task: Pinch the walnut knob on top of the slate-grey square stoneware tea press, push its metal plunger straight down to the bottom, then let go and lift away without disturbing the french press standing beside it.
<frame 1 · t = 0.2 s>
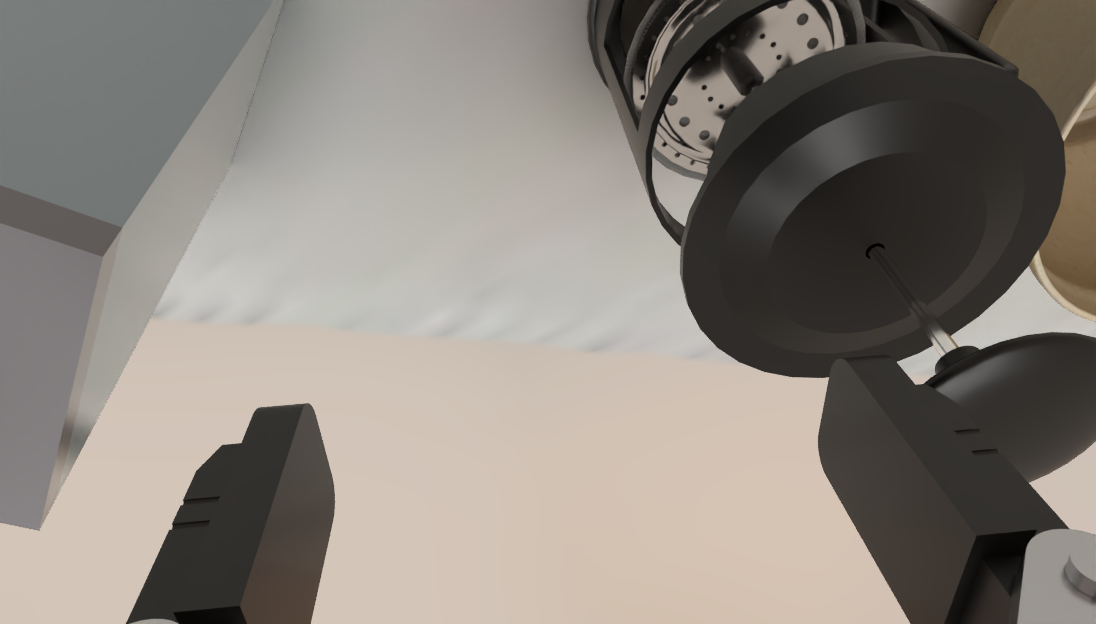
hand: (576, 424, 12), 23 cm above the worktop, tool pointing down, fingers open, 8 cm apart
french press: (710, 11, 31), on the worktop
planter bowl: (1076, 29, 33), on the worktop
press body: (140, 24, 29), on the worktop
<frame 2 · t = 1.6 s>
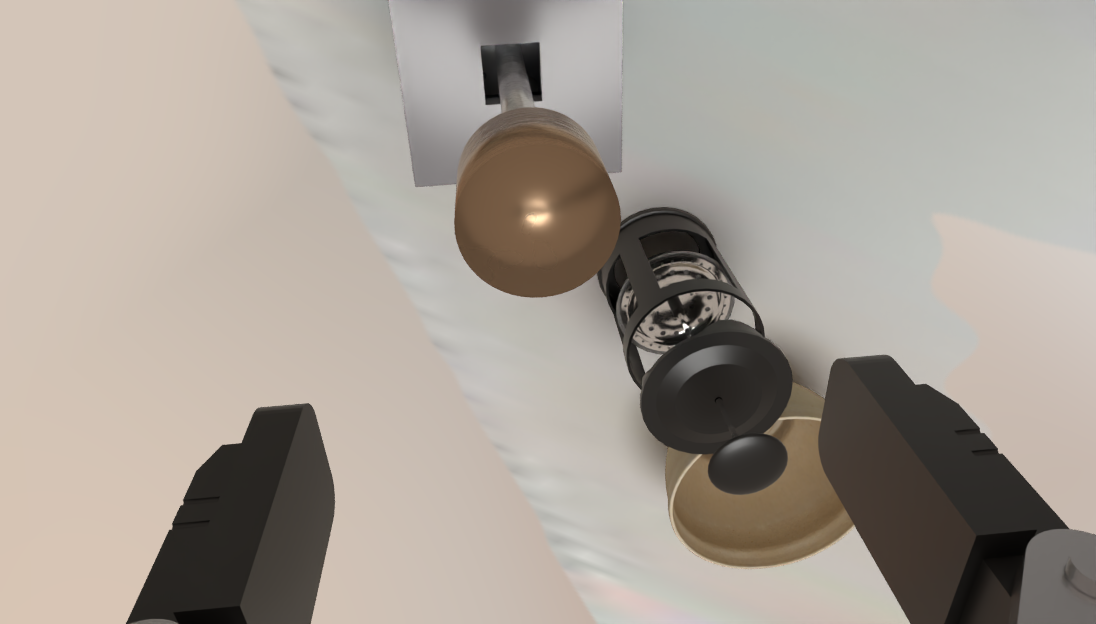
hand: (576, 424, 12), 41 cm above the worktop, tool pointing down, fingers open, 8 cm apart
french press: (660, 266, 58), on the worktop
plunger: (515, 92, 28), point 22 cm above the worktop, slide at 8.0 cm
planter bowl: (731, 408, 66), on the worktop
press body: (499, 1, 47), on the worktop
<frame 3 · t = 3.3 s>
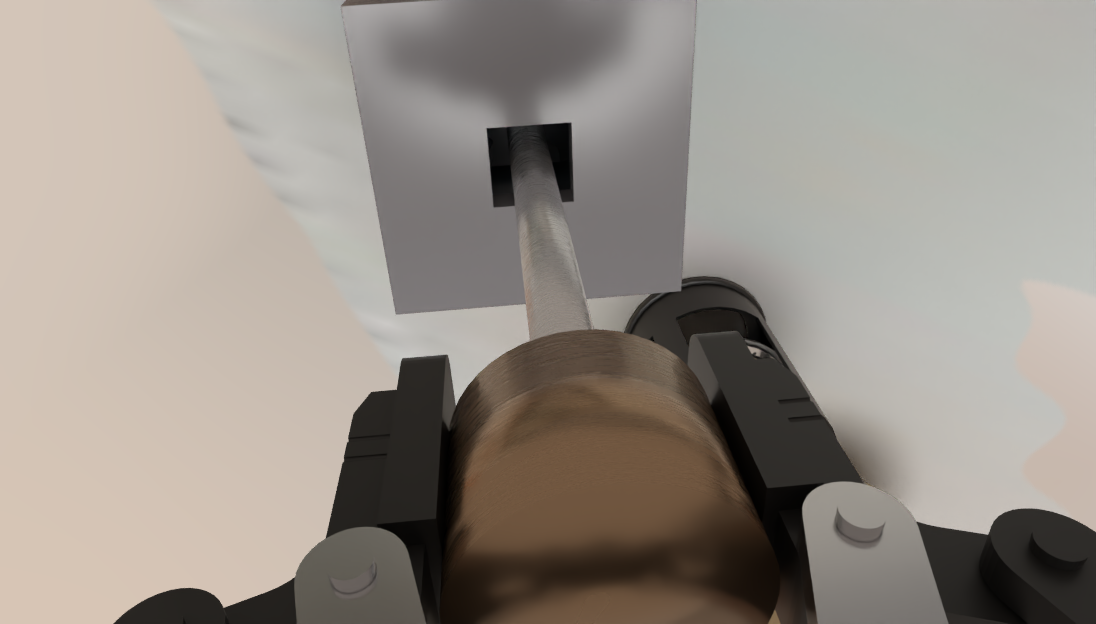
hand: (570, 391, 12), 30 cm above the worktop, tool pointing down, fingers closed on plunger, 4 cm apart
french press: (697, 342, 49), on the worktop
plunger: (538, 204, 19), point 22 cm above the worktop, slide at 8.0 cm, touching gripper
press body: (507, 35, 38), on the worktop
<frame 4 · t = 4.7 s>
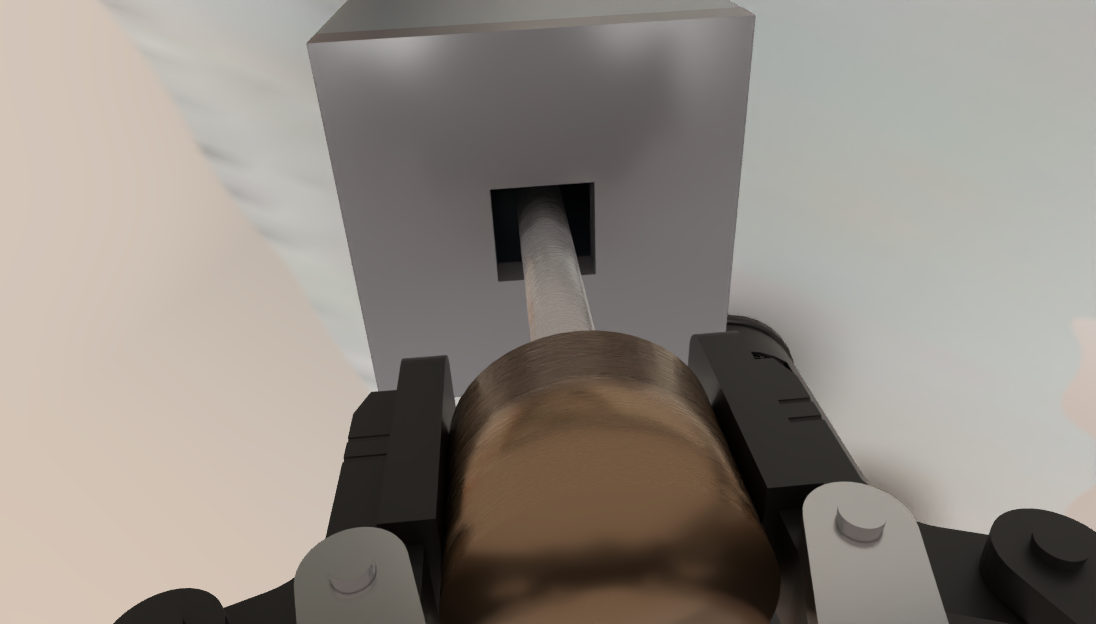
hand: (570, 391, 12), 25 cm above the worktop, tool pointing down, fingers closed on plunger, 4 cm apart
french press: (718, 384, 45), on the worktop
plunger: (539, 205, 19), point 17 cm above the worktop, slide at 3.4 cm, touching gripper
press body: (513, 55, 34), on the worktop
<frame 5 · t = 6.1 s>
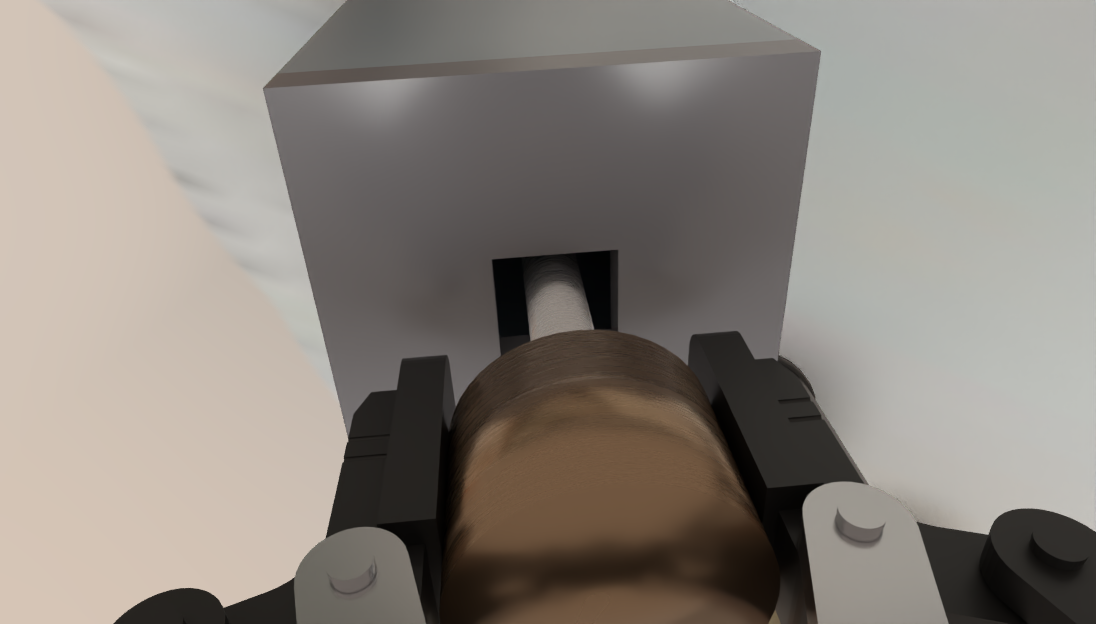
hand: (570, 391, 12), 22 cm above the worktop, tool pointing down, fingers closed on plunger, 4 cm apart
french press: (734, 421, 42), on the worktop
plunger: (539, 204, 19), point 14 cm above the worktop, slide at -0.1 cm, touching gripper
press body: (515, 74, 31), on the worktop
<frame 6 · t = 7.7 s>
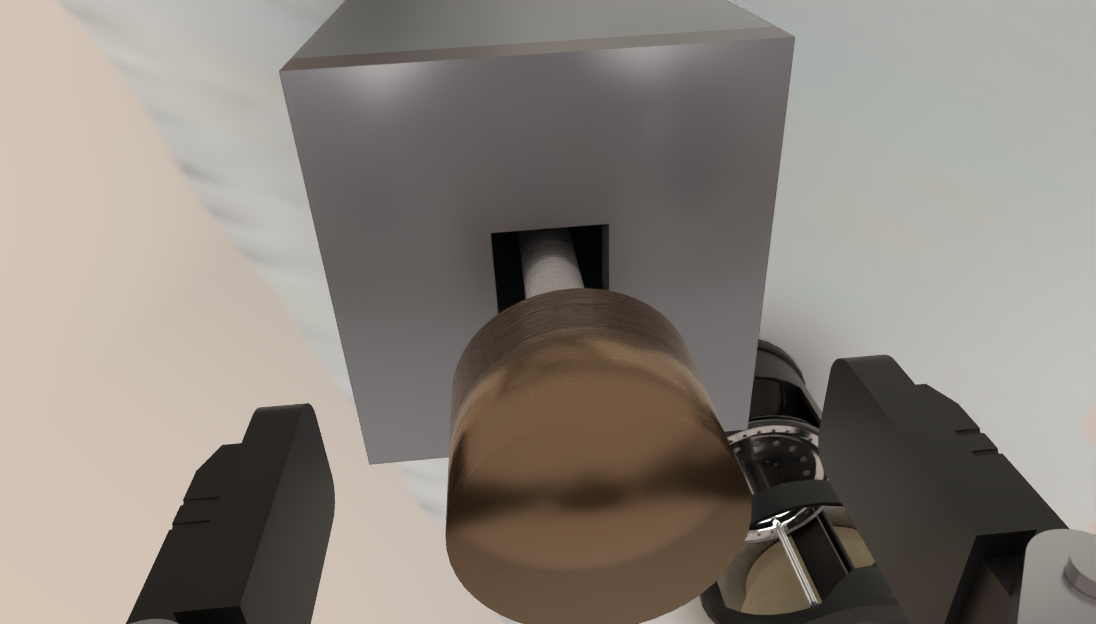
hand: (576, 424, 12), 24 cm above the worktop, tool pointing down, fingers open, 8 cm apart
french press: (726, 408, 43), on the worktop
plunger: (535, 188, 20), point 14 cm above the worktop, slide at -0.1 cm
planter bowl: (809, 569, 51), on the worktop
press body: (512, 67, 32), on the worktop
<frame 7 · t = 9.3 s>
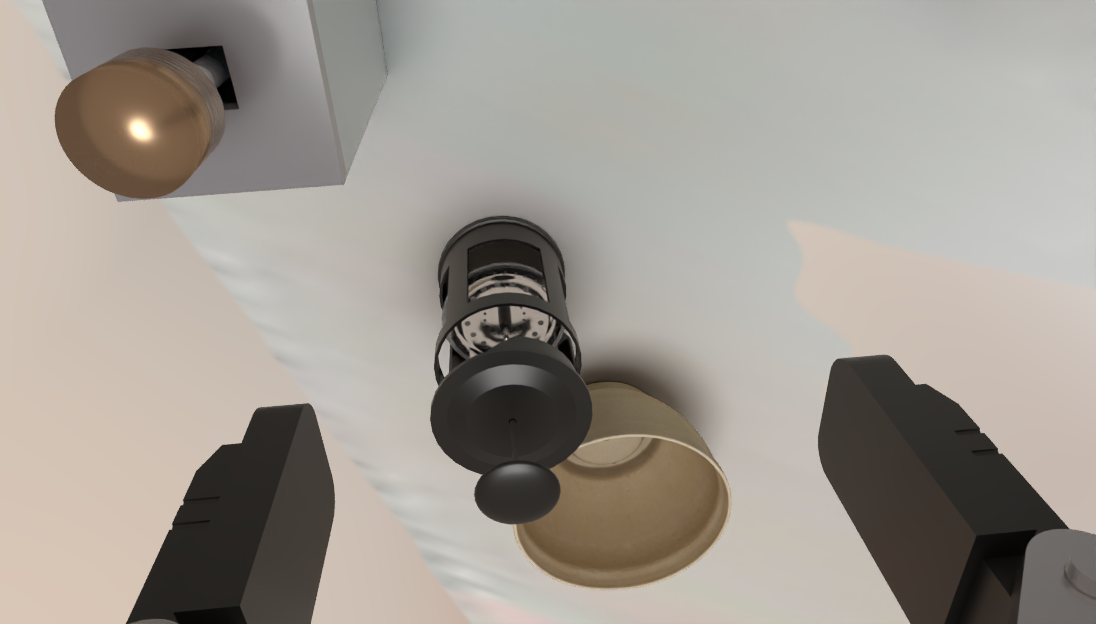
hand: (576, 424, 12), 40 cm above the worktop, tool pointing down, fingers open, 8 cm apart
french press: (506, 276, 56), on the worktop
plunger: (235, 51, 33), point 14 cm above the worktop, slide at -0.1 cm
planter bowl: (600, 422, 64), on the worktop
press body: (298, 1, 45), on the worktop
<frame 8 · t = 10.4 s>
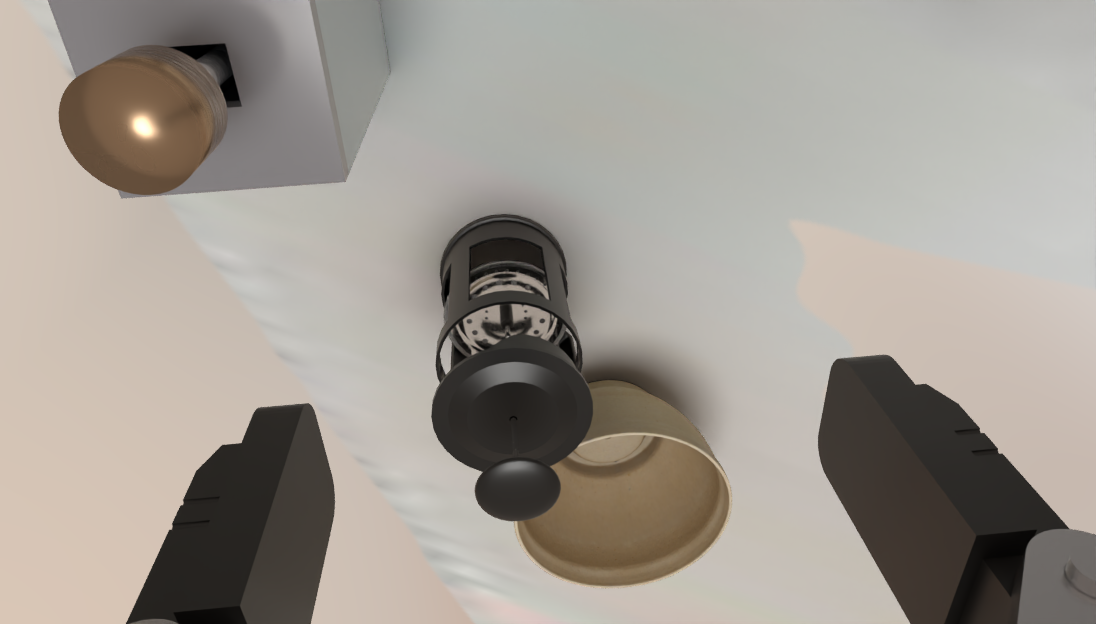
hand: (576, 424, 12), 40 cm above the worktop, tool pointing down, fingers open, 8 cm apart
french press: (508, 275, 56), on the worktop
plunger: (239, 48, 33), point 14 cm above the worktop, slide at -0.1 cm
planter bowl: (602, 421, 64), on the worktop
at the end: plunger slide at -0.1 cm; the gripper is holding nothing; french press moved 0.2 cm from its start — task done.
